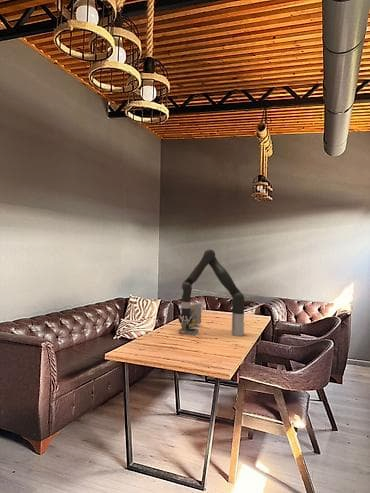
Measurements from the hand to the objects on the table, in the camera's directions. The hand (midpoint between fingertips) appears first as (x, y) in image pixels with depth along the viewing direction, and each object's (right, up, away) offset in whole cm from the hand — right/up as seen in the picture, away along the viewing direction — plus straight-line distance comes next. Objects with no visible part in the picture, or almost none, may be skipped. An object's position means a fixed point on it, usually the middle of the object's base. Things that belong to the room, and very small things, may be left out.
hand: (185, 328), depth 313 cm
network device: (+5, -4, +21) cm, 22 cm away
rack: (+3, -4, -1) cm, 5 cm away
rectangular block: (0, -2, 0) cm, 2 cm away
